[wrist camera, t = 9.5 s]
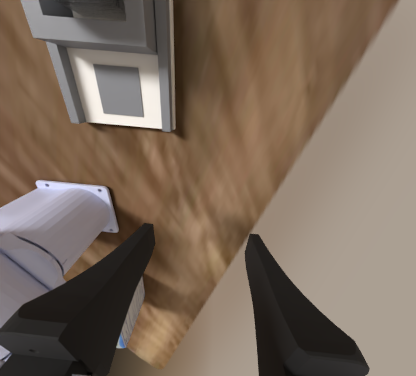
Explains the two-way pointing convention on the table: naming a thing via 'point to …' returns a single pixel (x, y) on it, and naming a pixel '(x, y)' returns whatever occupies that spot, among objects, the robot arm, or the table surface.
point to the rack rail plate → (112, 62)
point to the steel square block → (96, 8)
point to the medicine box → (132, 315)
